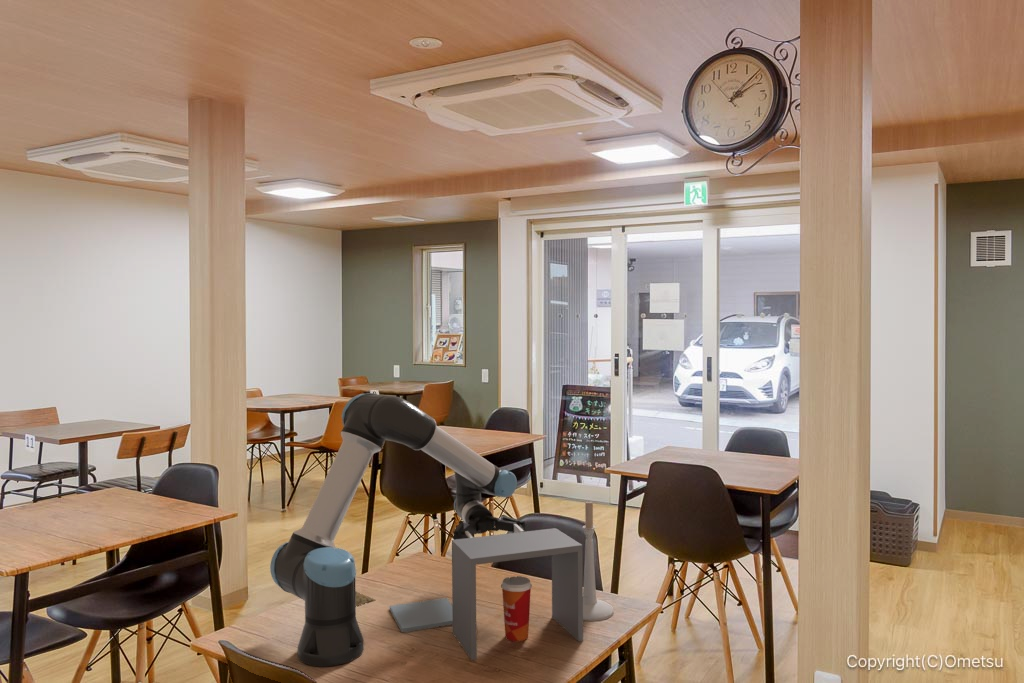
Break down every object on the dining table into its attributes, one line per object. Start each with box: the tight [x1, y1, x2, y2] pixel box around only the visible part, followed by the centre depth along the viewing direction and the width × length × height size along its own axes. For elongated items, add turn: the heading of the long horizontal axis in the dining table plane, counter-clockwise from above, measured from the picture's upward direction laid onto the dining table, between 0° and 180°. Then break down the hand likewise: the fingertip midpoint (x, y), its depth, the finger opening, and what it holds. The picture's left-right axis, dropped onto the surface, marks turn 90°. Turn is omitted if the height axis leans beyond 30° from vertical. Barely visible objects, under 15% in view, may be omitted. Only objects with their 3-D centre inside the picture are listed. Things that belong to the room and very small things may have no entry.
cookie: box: [356, 591, 376, 607], centre depth 206 cm, size 12×12×1 cm
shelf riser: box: [451, 527, 584, 661], centre depth 181 cm, size 28×16×24 cm, turn 110°
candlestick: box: [582, 500, 615, 622], centre depth 196 cm, size 13×13×30 cm
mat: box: [389, 597, 453, 633], centre depth 194 cm, size 16×16×1 cm
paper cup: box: [500, 575, 533, 642], centre depth 181 cm, size 8×8×14 cm
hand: (498, 539), depth 191 cm, fingers open, 13 cm apart
